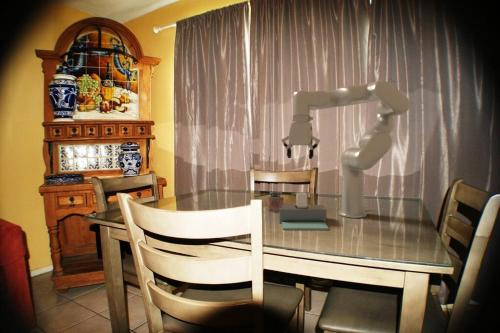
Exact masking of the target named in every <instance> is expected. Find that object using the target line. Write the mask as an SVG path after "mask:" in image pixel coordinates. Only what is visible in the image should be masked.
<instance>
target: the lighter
mask: <svg viewBox="0 0 500 333" xmlns="http://www.w3.org/2000/svg"><path fill="white" fill-rule="evenodd" d="M269 194H270V195H269V196H267V197H268V198H267V199H268V210H267V211H268V212H270V213H278V214H279V205H284V196H283V192H279V191H270V193H269Z"/></svg>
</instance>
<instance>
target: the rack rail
mask: <svg viewBox="0 0 500 333" xmlns="http://www.w3.org/2000/svg"><path fill="white" fill-rule="evenodd" d="M327 213H328V212H327V208H326V206H324V204H307V209H296V204H283V205H279V213H278V223H279V224H282V222H325V224H327V215H328V214H327Z"/></svg>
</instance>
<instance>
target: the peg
mask: <svg viewBox="0 0 500 333" xmlns="http://www.w3.org/2000/svg"><path fill="white" fill-rule="evenodd" d="M295 195H296V198H295V199H296V200H295V201H296V203H295V205H296V209H307V205H308V194H307V192H296V194H295Z"/></svg>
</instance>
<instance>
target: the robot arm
mask: <svg viewBox="0 0 500 333" xmlns="http://www.w3.org/2000/svg"><path fill="white" fill-rule="evenodd" d="M377 101H379V102H378V103H377V104H376V108H375V112H376V121H375V122H374V123H373V124H372V125H371V127H369V129H367V130H366V131H365V132H364V133H363V135H362V136H361V137H360V138H359V140H358V147H348V148H346V149H344V151H343V152H342V153H341V156H340V162H341V163H340V164H341V169H342V170H341V172H342V189H341V190H342V191H341V193H342V194H341V196H342V198H341V209H339V210H338V215H339V216H342V217H345V218H349V219H350V218H351V219H353V218H354V219H362V218H366V217H367V216H368V213H367V212H375V207H374V206H372V207H371V206H366V205H364V200H365V199H364V198H365V197H364V195H365V194H364V193H365V191H364V190H365V174H364V171H369V170H370V169H372V168H373V167H374V166H375V165H376V164H378V163H379V161H381V159H382V158H384V156H386V154H387V153H388V152H389V151H390V149H391V148H392V145H393V139H392V135H391V133H392V132H393V130H394V126H395V125H394V124H395V122H394V121H395V120H394V116H395V117H396V116H400V115H404V114H406V113H407V112H408V111H409V110H410V108H411V102H410V99H409V98H408V97H407V96H406V95H405V94H404V93H403V92H402V91H401V90H399V89H398V88H397V87H395V86H394V85H393V84H392V83H390V82H389V81H387V80H383V79H379V80H376V81H372V82H369V83H363V84H357V85H346V86H342V87H339V88H336V89H333V90H330V91H325V90H313V91H311V90H310V91H308V90H297V91H294V93H293V95H292V117H291V118H292V122H291V123H290V126H289V131H288V136H286V137H284V138H282V139H281V142H282V145H283V147H284V148H285V149H286V156H287V158H288V159H291V158H292V149H291V148H293V147H294V146H307V147H308V148H309V151H308V159H309V160H312V159H313V158H314V150H315V149H316V148H317V147H318V146H319V145H320V142H321V140H320V139H319V138H317V137H316V136H313V134H314V133H313V124H312V122H311V121H313V120H314V117H313V116H311V111H317V110H323V109H324V110H325V109H331V108H339V107H348V106H353V105H354V106H355V105H360V104H367V103H368V104H369V103H372V102H377ZM286 141H288V143H287V142H286ZM314 141H315V143H314ZM313 143H314V144H313Z"/></svg>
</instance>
